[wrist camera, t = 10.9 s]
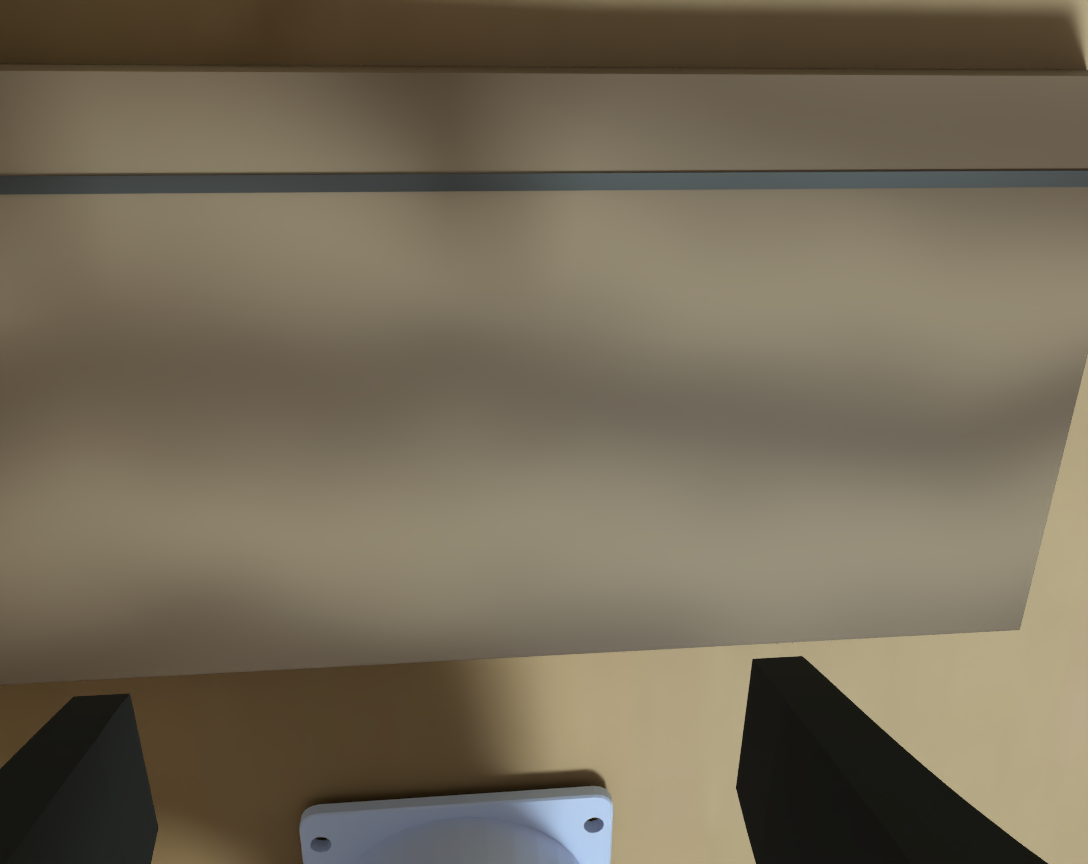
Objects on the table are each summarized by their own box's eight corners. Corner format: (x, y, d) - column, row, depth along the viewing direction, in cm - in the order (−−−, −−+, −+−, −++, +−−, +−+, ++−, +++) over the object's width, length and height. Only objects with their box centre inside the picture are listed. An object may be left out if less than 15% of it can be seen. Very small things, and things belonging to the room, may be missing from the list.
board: (975, 582, 24) (1020, 631, 22) (-327, 646, 21) (-401, 708, 19) (1088, 69, 19) (1159, 76, 18) (-574, 61, 16) (-704, 67, 15)
